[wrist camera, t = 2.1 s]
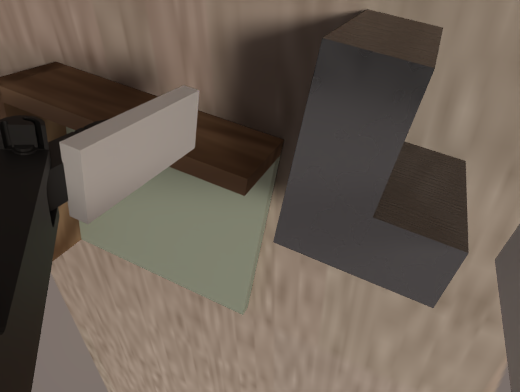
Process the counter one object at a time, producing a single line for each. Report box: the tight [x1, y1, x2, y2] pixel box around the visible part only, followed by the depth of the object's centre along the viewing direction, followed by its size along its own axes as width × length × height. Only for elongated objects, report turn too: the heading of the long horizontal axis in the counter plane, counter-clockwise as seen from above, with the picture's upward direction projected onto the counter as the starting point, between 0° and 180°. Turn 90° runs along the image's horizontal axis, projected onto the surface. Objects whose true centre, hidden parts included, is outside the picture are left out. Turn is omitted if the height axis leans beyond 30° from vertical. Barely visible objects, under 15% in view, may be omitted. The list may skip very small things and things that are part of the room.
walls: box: [0, 62, 284, 261], centre depth 32 cm, size 18×20×6 cm
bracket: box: [273, 9, 468, 308], centre depth 20 cm, size 10×8×9 cm
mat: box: [66, 127, 280, 315], centre depth 34 cm, size 18×20×1 cm
